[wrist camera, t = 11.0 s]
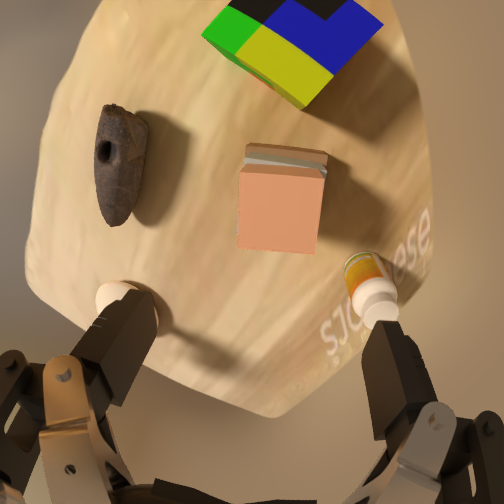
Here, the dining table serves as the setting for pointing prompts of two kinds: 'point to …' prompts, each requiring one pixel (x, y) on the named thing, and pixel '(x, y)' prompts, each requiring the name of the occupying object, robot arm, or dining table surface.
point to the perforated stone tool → (119, 162)
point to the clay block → (279, 208)
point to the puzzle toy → (292, 41)
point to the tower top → (282, 163)
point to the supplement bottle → (371, 289)
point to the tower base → (288, 152)
